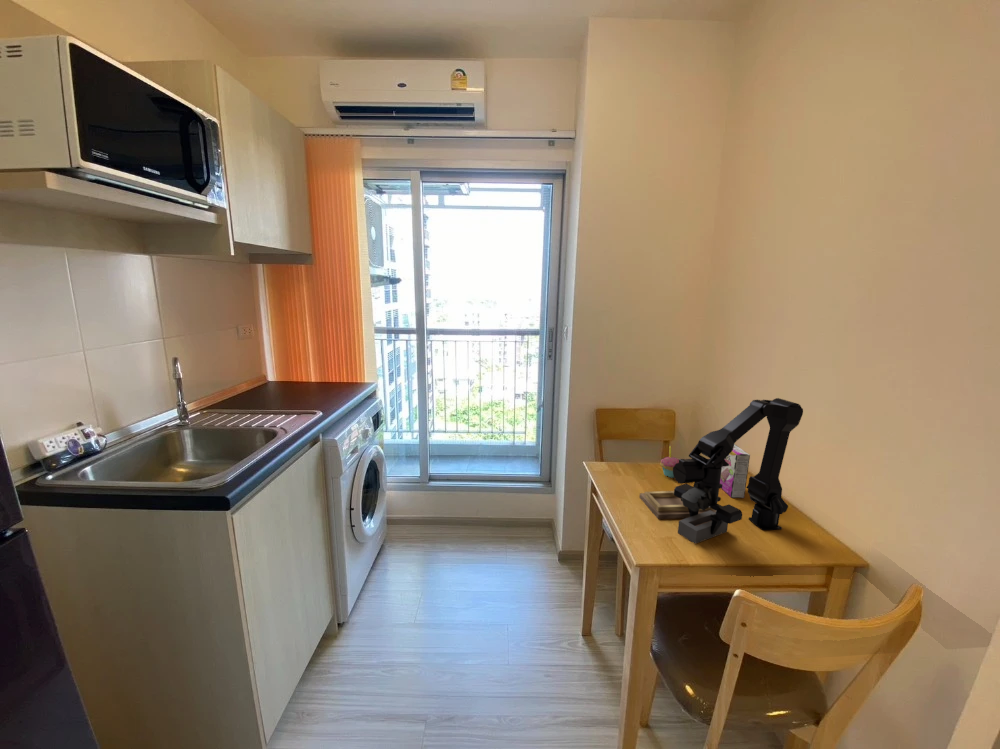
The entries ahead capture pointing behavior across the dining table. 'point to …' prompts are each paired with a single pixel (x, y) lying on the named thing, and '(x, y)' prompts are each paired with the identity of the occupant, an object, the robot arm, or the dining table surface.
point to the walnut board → (667, 505)
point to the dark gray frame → (699, 527)
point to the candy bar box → (735, 473)
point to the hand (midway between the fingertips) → (702, 528)
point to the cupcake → (668, 464)
